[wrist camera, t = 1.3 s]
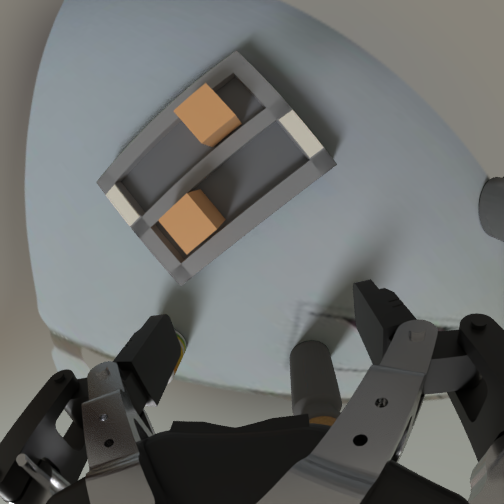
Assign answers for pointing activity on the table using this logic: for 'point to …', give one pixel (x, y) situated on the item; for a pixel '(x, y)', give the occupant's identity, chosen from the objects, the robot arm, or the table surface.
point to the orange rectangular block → (192, 220)
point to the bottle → (314, 383)
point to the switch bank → (215, 167)
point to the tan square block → (207, 116)
